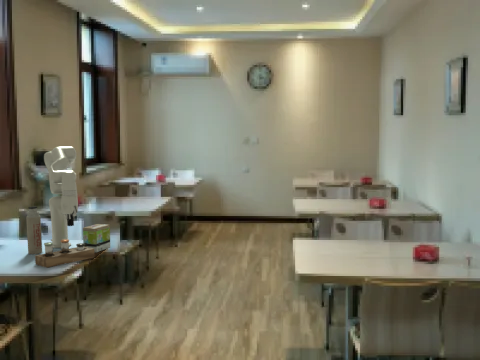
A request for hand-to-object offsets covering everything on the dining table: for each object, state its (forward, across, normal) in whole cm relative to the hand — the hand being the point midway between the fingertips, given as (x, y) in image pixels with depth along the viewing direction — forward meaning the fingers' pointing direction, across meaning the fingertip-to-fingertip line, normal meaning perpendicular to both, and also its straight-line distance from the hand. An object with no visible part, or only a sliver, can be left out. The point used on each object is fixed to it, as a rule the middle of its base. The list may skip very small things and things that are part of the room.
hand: (70, 225), depth 318 cm
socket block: (+19, 0, -4) cm, 20 cm away
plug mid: (+15, 0, -4) cm, 15 cm away
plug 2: (+19, 0, +6) cm, 20 cm away
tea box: (+20, -10, +24) cm, 33 cm away
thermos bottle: (+19, -34, -3) cm, 39 cm away
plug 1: (+15, -1, -14) cm, 20 cm away
